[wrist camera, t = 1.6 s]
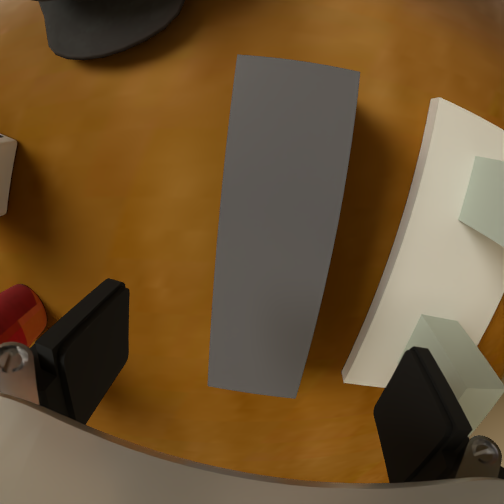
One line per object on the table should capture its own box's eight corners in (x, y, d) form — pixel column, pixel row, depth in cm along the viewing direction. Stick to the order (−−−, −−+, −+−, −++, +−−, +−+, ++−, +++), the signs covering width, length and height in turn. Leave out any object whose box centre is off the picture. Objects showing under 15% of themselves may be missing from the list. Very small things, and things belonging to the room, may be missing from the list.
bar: (251, 78, 20) (237, 54, 14) (337, 91, 20) (360, 72, 13) (224, 330, 27) (207, 385, 21) (294, 340, 27) (295, 398, 20)
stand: (430, 99, 19) (518, 84, 9) (535, 155, 19) (619, 176, 9) (341, 371, 27) (357, 465, 17) (443, 382, 27) (478, 458, 17)
